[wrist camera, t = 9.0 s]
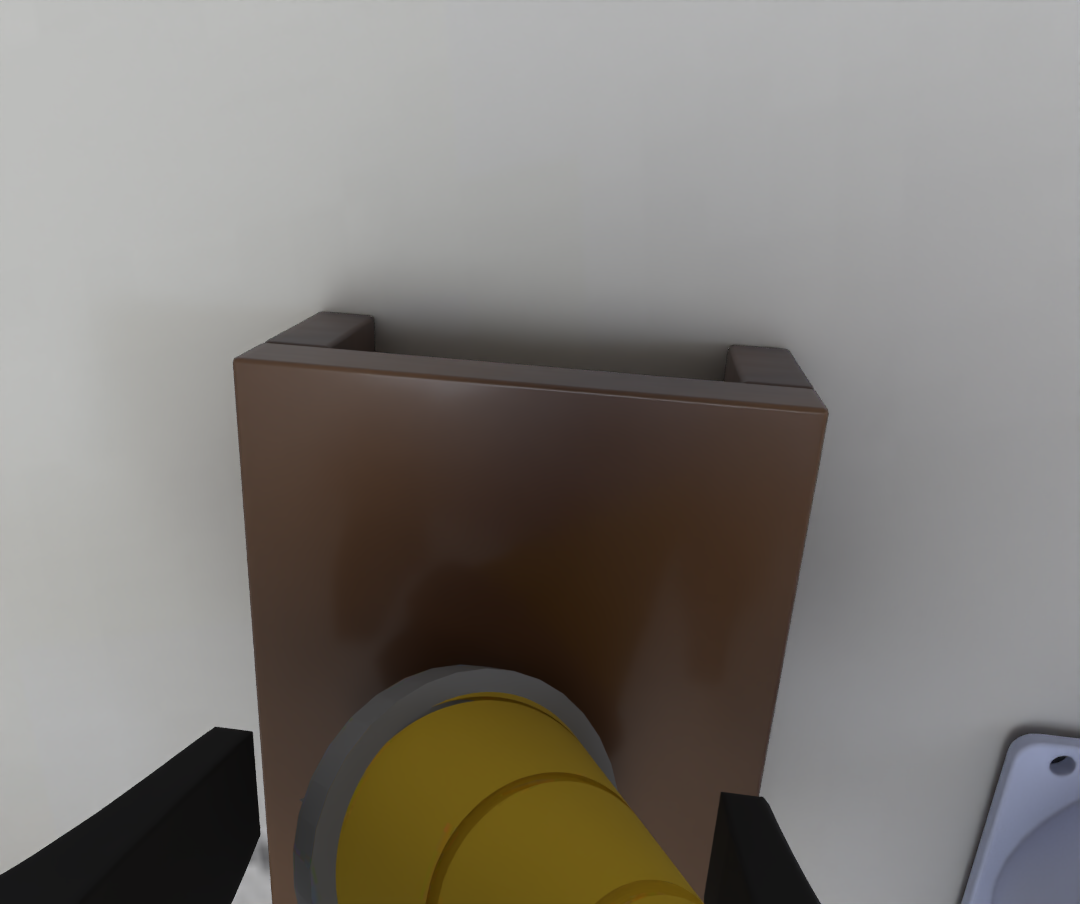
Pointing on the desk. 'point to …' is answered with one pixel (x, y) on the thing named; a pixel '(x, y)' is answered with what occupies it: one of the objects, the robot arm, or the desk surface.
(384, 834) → the yellow stepped cone
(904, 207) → the desk surface
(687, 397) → the desk riser
